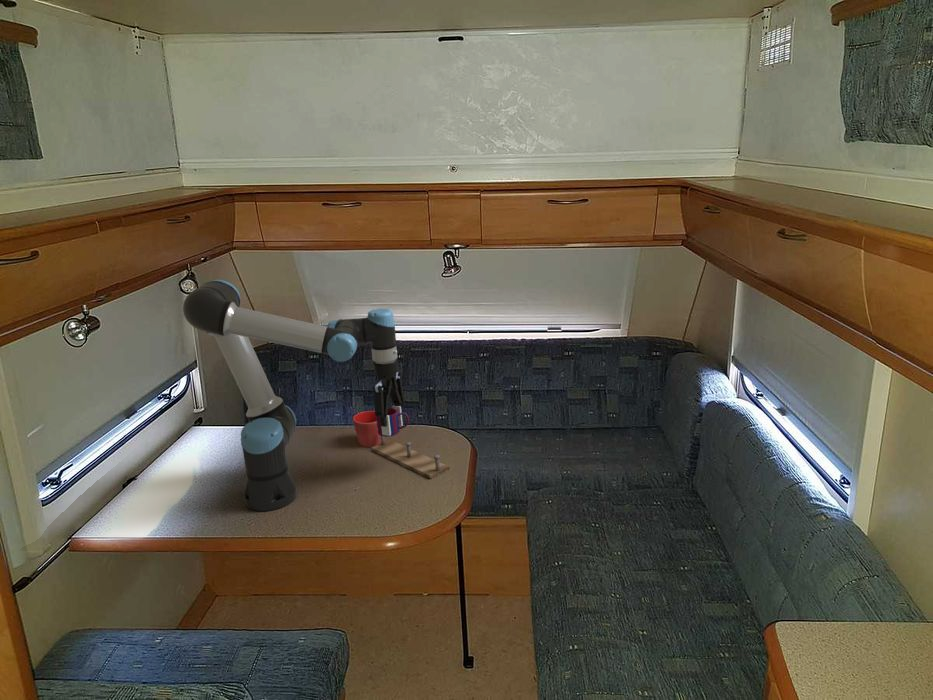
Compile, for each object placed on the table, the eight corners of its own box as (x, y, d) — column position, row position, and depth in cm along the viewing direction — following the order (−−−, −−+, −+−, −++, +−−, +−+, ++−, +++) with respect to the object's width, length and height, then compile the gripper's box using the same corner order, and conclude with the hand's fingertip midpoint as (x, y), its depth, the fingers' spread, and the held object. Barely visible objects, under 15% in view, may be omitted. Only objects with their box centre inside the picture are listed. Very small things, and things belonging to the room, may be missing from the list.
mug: (381, 427, 216) (379, 408, 214) (411, 428, 214) (409, 408, 212) (375, 436, 209) (373, 416, 207) (406, 436, 208) (404, 416, 206)
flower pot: (392, 438, 238) (389, 412, 235) (375, 451, 229) (373, 424, 226) (366, 434, 242) (363, 408, 239) (349, 446, 233) (346, 420, 230)
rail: (372, 450, 229) (370, 434, 227) (390, 443, 234) (389, 427, 232) (430, 479, 208) (429, 461, 206) (449, 470, 213) (448, 452, 211)
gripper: (379, 371, 194) (387, 444, 201) (411, 351, 211) (417, 419, 218) (357, 369, 197) (365, 441, 204) (390, 349, 214) (397, 416, 221)
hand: (392, 429), depth 211 cm, fingers closed on mug, 7 cm apart
